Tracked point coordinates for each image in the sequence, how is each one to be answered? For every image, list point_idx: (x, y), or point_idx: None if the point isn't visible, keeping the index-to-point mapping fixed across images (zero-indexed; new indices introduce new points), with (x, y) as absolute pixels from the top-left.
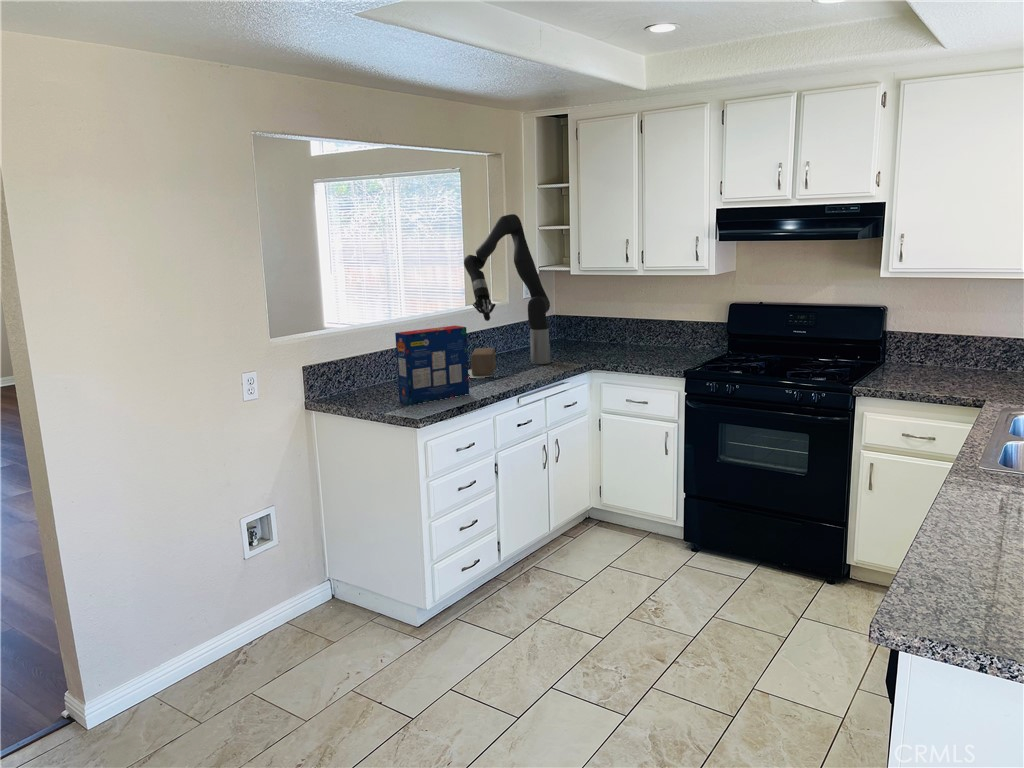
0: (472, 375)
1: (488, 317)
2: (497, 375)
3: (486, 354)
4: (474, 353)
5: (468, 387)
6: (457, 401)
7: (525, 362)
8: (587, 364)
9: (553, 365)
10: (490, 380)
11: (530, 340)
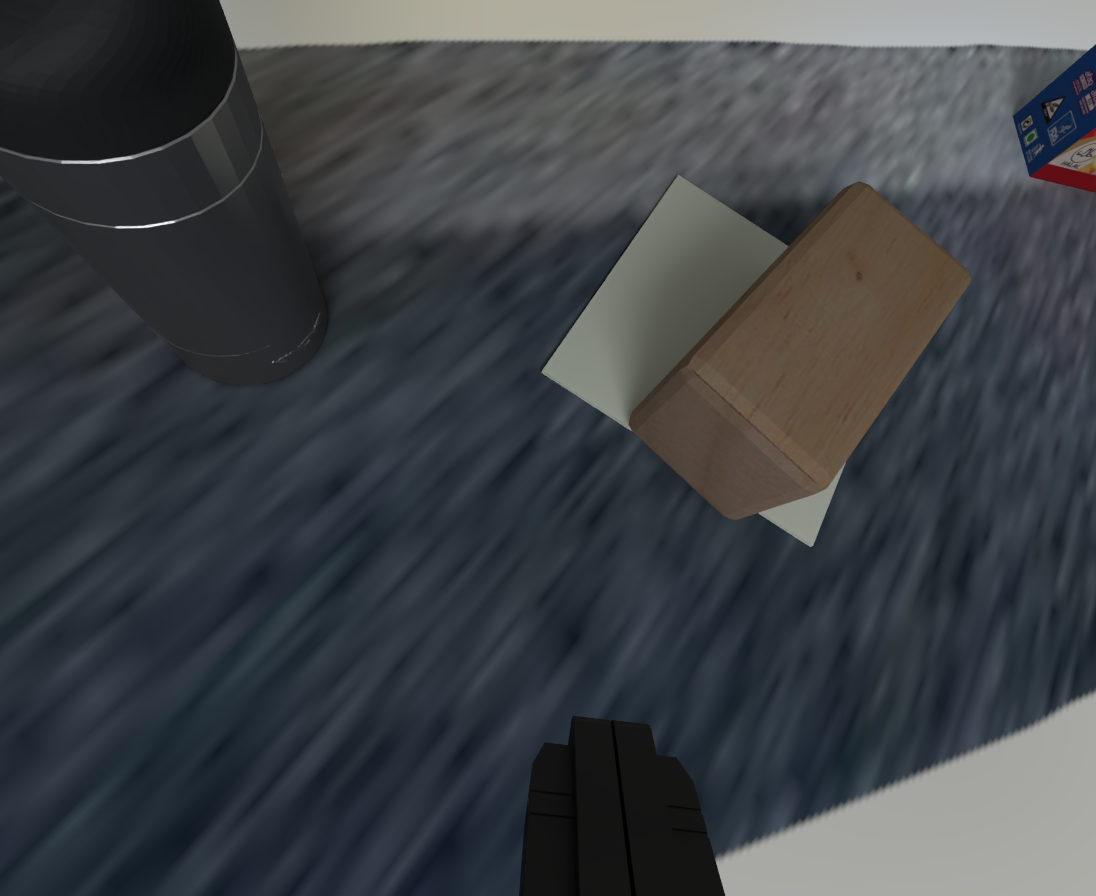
0: None
1: (614, 748)
2: (752, 251)
3: (890, 205)
4: (945, 289)
5: (1045, 90)
6: None
7: (293, 430)
8: None
9: None
10: None
11: (253, 239)
